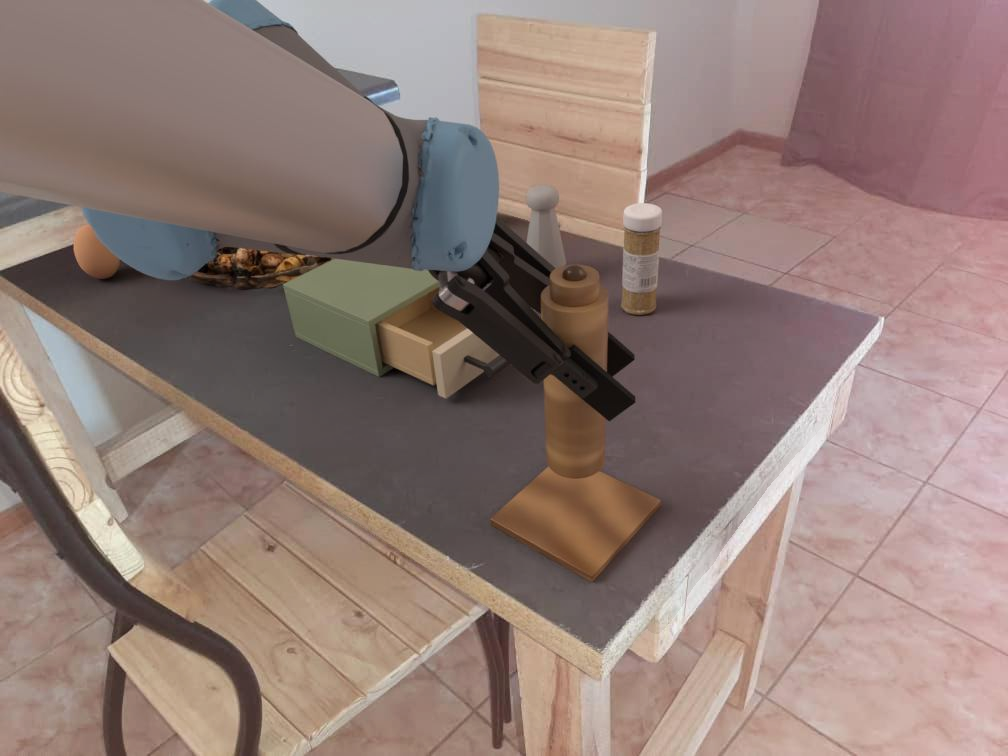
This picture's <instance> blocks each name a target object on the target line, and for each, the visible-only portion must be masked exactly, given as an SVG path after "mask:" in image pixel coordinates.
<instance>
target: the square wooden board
mask: <svg viewBox="0 0 1008 756" xmlns="http://www.w3.org/2000/svg"><path fill="white" fill-rule="evenodd" d="M661 504H662V499H660V498H657V497H656V496H653V495H652V494H649V493H648V492H645V491H643V490H641V489H638V488H637V487H634V486H632V485H630V484H628V483H626V482H624V481H621V480H619V479H618V478H616V477H613V476H611V475H609V474H607V473H605V472H602V471H601V470H600V471H599V472H597V473H596V474H594V475H592V476H589V477H586V478H580V479H572V478H566V477H562V476H560V475H558V474H556V473H554V472H553V471H552V470H551V469H550V468H549V466H548V465H547V467H546V468H545V469H544V470H543V471H541V472H540V473H539V474H538V475H537V476H536V477H535V478H534V479H533V480H532V481H530V483H528V484H527V485H526V486H525V487H524V488H523V489H521V490H520V491H519V492H518V493H517V494H516V495H515V496H514V497H512V498H511V499H510V500H509V501H508V502H507V503H506V504H505V505H504V506H502V507H501V509H499V510H498V511H497V512H496V513H495V514H494V515H493V516H491V517H490V522H489V523H490V526H492V527H494V528H496V529H497V530H499V531H501V532H503V533H504V534H506V535H508V536H510V537H512V538H513V539H515V540H516V541H519V542H520V543H522V544H524V545H525V546H527V547H528V548H531V549H533V550H534V551H536V552H538V553H539V554H541V555H543V556H545V557H546V558H548V559H550V560H551V561H554V562H555V563H557V564H558V565H560V566H563V567H564V568H566V569H568V570H569V571H571V572H572V573H575V574H577V575H578V576H579V577H581V578H584V579H585V580H587V581H589V582H590V583H593V582H594V581H595V580H596V579H597V577H599V575H600V574H601V573H602V572H603V571H605V569H606V567H607V566H608V565H609V564H610V563H611V562H612V561H613V560H614V559H615V557H617V556H618V554H619V553H620V552H621V551H622V550H623V549H624V547H626V546H627V544H628V543H630V541H631V539H633V538H634V536H635V535H636V534H638V532H639V531H640V530H641V529H642V527H643V526H644V525H645V524H646V523H647V522H648V521H649V519H651V517H652V516H653V515H654V514H655V513H656V512H657V511H658V510H659V508H661Z"/></svg>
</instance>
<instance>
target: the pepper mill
mask: <svg viewBox="0 0 1008 756" xmlns="http://www.w3.org/2000/svg"><path fill="white" fill-rule="evenodd" d="M549 278H550V285H549V286H547V287H546V288H545V289H544V290H543V291H542V293H541V314H540V318H541V319H542V320H543V321H544V322H545V323H546V324H547V326H548V327H549V328H550V329H551V330H552V331H553V332H554V333H555V334H556V335H557V336H558V337H559V338H560V339H561V341H562V342H563V343H564V344H565V345H566V346H567V347H568V348H570V347H571V346H573V345H576V346H577V347H578V348H579V349H580V350H581V351H583V352H584V353H585V354H586V355H587V356H588V357H590V358H591V359H592V360H593V361H594V362H596V363H597V364H598V365H599V366H600V367H601V368H603V369H604V370H605V371H606V372H607V348H608V332H609V303H610V302H609V300H610V299H609V296H610V295H609V291H608V290H607V289H606V287H605V286H603V285H602V284H600V273H599V271H597V269H595V268H594V267H592V266H589V265H584V264H577V263H573V264H566V265H565V266H561V267H559V268H556V269H555V270H553V271H552V272H551V274H550V277H549ZM542 382H543V404H544V405H543V407H544V434H545V437H544V438H545V455H546V456H545V460H546V465H547V467H548V466H549V468H550V469H551V470H552V471H553V472H554V473H556V474H558V475H560V476H562V477H566V478H572V479H580V478H586V477H589V476H592V475H594V474H596V473H597V472H599V471H600V472H601V471H602V468H603V467H604V466H605V462H606V439H607V438H606V437H607V436H606V434H607V433H606V432H607V419H605V418H604V417H603V416H602V415H601V414H599V413H598V412H597V411H596V410H595V409H593V408H592V407H591V406H590V405H589V404H587V403H586V402H585V401H584V400H582V399H581V398H580V397H579V396H578V395H576V394H575V393H574V392H573V391H572V390H570V389H569V388H568V387H567V386H566V385H564V384H563V383H562V382H561V381H559V380H558V379H557V378H556V377H555V376H553V375H549V376H548V377H546V378H545V379H544V380H543V381H542Z"/></svg>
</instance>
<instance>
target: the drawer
mask: <svg viewBox="0 0 1008 756" xmlns="http://www.w3.org/2000/svg"><path fill="white" fill-rule="evenodd" d="M439 291H440V288H439V287H438V288H436V289H435V290H433V291H431V292H430V293H428V294H426V295H424V296H423V297H421V298H419V299H418V300H416V301H414V302H412V303H411V304H409V305H407V306H406V307H404V308H402V309H400V310H399V311H397V312H395V313H394V314H392V315H390V316H388V317H387V318H385V319H383V320H382V321H380V322H378V323H376V324H375V327H376V333H377V338H378V344H379V350H380V355H381V361H382V362H384V363H386V364H388V365H390V366H392V367H394V368H393V369H397V370H399V371H401V372H402V373H405V374H407V375H410V376H412V377H414V378H416V379H418V380H420V381H422V382H424V383H426V384H429V385H431V386H436V389H437V395H438V396H439V397H441V398H443V399H445V400H446V399H448V398H449V397H451V396H452V395H454V394H455V393H456V392H458V390H460V389H462V388H463V387H465V386H467V384H469V383H470V382H472V381H473V380H475V379H476V378H477V377H478V376H480V375H481V374H483V373H484V374H485V375H486V376H487V377H488V378H491V377H493V376H495V375H496V374H497V373H499V372H500V371H502V370H503V369H504V368H506V367H508V366H509V365H511V364H510V363H509V362H508V361H506V360H505V359H504V358H503V357H501V356H500V355H499V354H498V353H497V352H495V351H494V350H493V349H492V348H491V347H489V346H488V345H487V344H486V343H485V342H483V341H482V340H481V339H480V338H478V337H477V336H476V335H475V334H474V333H472V332H471V331H470V330H469V329H468V328H466V327H465V326H464V325H463V324H462V323H460V322H459V321H457V320H456V319H454V318H452V317H450V316H448V315H446V314H444V313H443V312H441V311H439V310H437V309H436V308H435V307H434V305H433V304H432V298H433V297H434V296H435V295H436V294H437V293H438V292H439Z"/></svg>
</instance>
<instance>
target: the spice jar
mask: <svg viewBox="0 0 1008 756" xmlns="http://www.w3.org/2000/svg"><path fill="white" fill-rule="evenodd" d="M622 216H623V217H622V224H623V229H624V233H623V234H624V235H623V248H622V279H621V285H622V292H621V293H622V295H621V296H622V297H621V304H620V307H621V309H622V310H623V311H624V312H625V313H627V314H630V315H635V316H644V315H645V316H646V315H648V314H651V313H653V312H654V311H655V310H656V308H657V289H658V280H659V279H658V277H659V266H660V265H659V263H660V237H661V233H660V232H661V228H662V224H663V210H662V208H661V207H660V206H658V205H656V204H653V203H649V202H648V203H647V202H642V203H639V202H638V203H633V204H630V205H628V206H626V207H625V208H624V210H623V215H622Z"/></svg>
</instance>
